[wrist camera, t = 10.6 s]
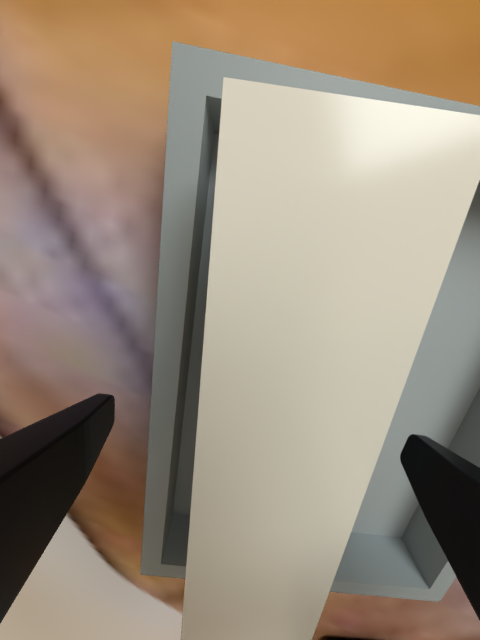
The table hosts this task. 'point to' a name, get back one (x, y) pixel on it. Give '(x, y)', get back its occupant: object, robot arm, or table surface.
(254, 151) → the cream rectangular block
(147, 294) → the table surface
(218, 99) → the divided grey tray
